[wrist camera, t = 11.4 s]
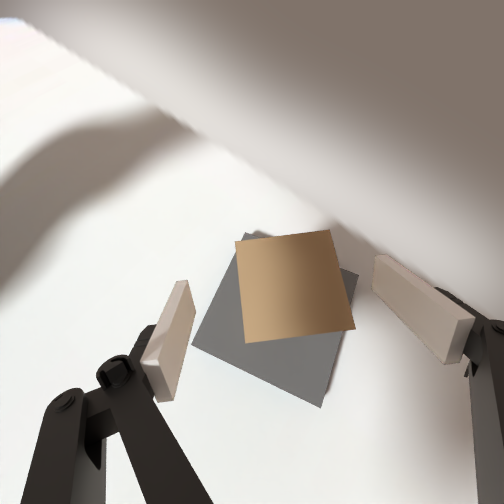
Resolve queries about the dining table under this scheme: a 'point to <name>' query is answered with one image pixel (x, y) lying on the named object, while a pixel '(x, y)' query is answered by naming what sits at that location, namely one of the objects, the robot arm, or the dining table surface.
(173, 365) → the robot arm
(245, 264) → the oak block
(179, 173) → the dining table surface
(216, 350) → the coaster mat
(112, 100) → the dining table surface
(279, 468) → the dining table surface
